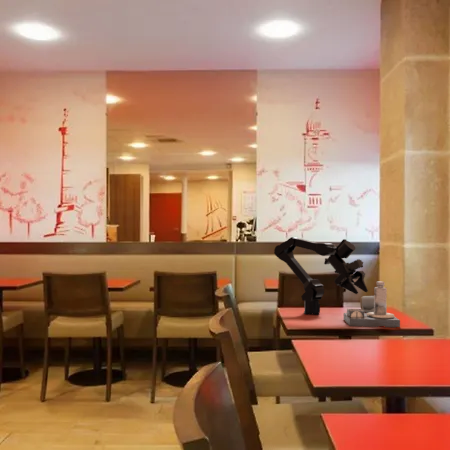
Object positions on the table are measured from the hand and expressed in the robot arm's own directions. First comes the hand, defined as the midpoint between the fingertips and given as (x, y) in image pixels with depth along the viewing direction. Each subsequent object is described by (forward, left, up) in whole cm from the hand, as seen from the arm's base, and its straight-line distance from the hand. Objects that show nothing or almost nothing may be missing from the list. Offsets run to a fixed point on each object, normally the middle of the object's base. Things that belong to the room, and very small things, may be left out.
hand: (362, 292), depth 217 cm
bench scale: (+2, -6, -12) cm, 14 cm away
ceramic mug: (+9, +27, -12) cm, 31 cm away
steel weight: (+6, -5, -8) cm, 12 cm away
